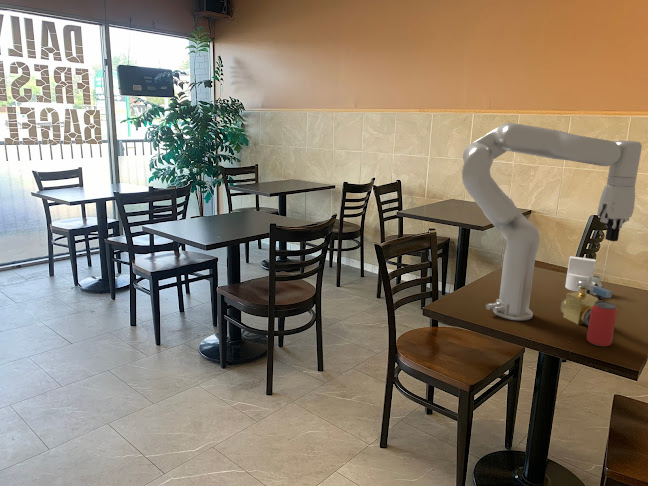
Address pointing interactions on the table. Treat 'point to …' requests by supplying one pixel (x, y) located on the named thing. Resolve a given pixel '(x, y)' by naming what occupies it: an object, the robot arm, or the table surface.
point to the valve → (597, 282)
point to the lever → (595, 288)
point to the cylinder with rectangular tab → (579, 271)
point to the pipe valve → (578, 306)
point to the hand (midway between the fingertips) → (611, 240)
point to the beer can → (601, 323)
